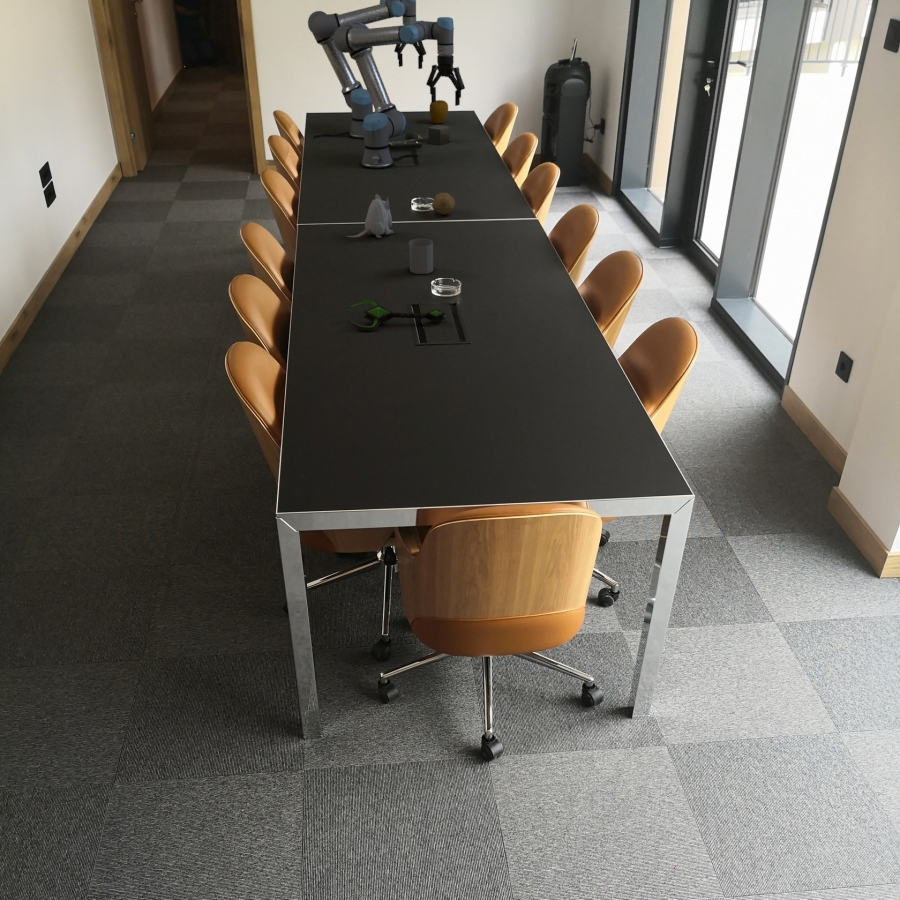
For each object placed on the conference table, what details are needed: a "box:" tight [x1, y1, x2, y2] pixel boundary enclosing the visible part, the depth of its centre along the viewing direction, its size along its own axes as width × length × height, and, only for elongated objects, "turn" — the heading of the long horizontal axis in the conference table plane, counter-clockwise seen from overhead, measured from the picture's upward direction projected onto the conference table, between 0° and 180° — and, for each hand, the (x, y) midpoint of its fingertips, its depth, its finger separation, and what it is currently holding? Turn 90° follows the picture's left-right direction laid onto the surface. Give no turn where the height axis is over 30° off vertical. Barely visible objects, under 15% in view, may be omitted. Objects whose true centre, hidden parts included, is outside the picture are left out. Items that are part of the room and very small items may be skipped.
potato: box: [431, 192, 456, 216], centre depth 360 cm, size 10×14×8 cm
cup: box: [408, 237, 434, 275], centre depth 305 cm, size 8×8×10 cm
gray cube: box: [428, 124, 450, 146], centre depth 465 cm, size 8×8×8 cm
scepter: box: [348, 298, 446, 331], centre depth 269 cm, size 6×13×30 cm
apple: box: [429, 99, 449, 125], centre depth 502 cm, size 11×11×13 cm
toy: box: [345, 193, 394, 239], centre depth 333 cm, size 9×24×15 cm, turn 137°
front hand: (445, 103), depth 410 cm, fingers open, 13 cm apart
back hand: (410, 67), depth 481 cm, fingers open, 13 cm apart
